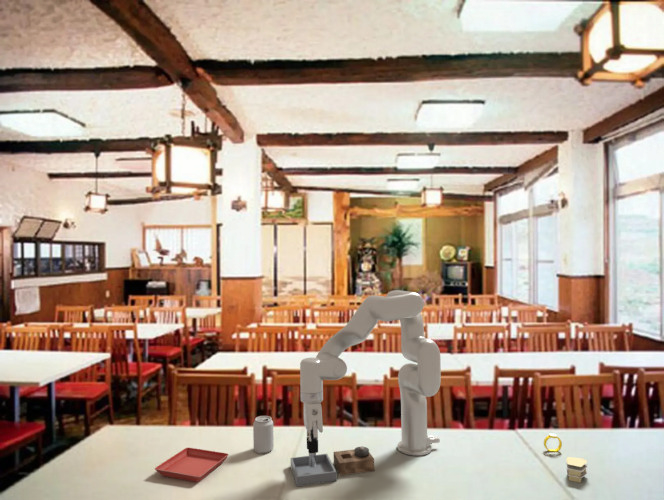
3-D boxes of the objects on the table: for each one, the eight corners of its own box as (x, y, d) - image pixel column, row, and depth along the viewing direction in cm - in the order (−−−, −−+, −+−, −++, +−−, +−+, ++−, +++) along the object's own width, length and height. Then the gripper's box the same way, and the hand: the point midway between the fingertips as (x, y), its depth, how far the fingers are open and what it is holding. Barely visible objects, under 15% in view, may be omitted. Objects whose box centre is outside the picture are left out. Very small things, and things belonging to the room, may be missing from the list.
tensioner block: (366, 459, 163) (366, 441, 163) (374, 470, 154) (374, 452, 154) (333, 463, 160) (333, 445, 160) (340, 475, 152) (339, 456, 152)
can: (269, 455, 168) (269, 422, 168) (250, 453, 169) (250, 421, 169) (276, 446, 175) (275, 415, 175) (257, 445, 176) (257, 414, 177)
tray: (327, 462, 161) (327, 453, 161) (336, 481, 148) (336, 471, 148) (290, 466, 158) (290, 457, 158) (296, 486, 145) (296, 476, 145)
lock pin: (315, 463, 154) (315, 434, 155) (316, 466, 152) (316, 436, 152) (308, 464, 154) (308, 434, 154) (309, 467, 152) (309, 437, 152)
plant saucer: (229, 462, 163) (229, 452, 163) (199, 486, 146) (199, 476, 146) (186, 455, 169) (186, 446, 169) (153, 478, 152) (153, 468, 152)
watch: (546, 452, 166) (545, 436, 166) (542, 449, 169) (542, 433, 169) (562, 452, 166) (562, 436, 166) (559, 449, 169) (559, 433, 169)
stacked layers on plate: (591, 489, 141) (591, 471, 141) (559, 481, 146) (559, 464, 146) (593, 475, 149) (592, 458, 150) (562, 469, 154) (562, 452, 154)
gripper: (327, 402, 146) (328, 459, 146) (317, 388, 162) (318, 440, 162) (304, 404, 145) (305, 462, 144) (297, 389, 160) (297, 442, 160)
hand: (312, 450), depth 153 cm, fingers closed on lock pin, 2 cm apart
